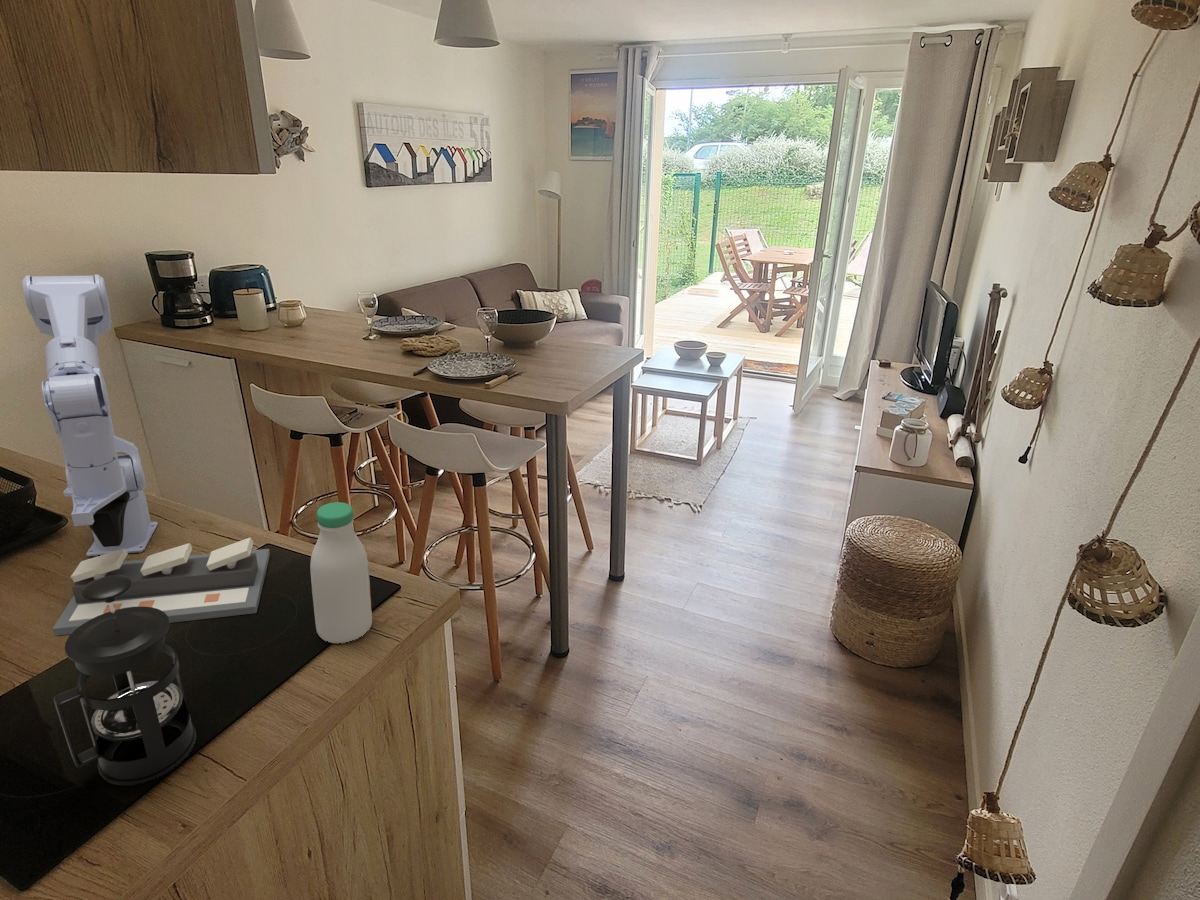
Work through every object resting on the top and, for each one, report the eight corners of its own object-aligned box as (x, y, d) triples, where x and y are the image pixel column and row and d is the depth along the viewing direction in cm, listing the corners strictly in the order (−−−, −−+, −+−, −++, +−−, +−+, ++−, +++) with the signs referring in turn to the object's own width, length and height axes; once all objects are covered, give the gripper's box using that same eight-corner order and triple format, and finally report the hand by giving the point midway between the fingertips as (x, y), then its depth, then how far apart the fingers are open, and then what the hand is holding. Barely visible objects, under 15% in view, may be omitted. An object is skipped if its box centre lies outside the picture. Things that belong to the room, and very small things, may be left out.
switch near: (88, 571, 99) (80, 561, 98) (131, 558, 100) (124, 548, 99) (78, 587, 95) (70, 577, 94) (123, 573, 96) (115, 563, 95)
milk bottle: (374, 639, 96) (366, 519, 88) (316, 649, 93) (303, 526, 85) (370, 607, 102) (363, 493, 94) (316, 616, 99) (303, 498, 91)
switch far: (218, 561, 104) (211, 551, 103) (256, 547, 105) (250, 537, 104) (213, 575, 101) (206, 565, 100) (252, 561, 102) (246, 550, 101)
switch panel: (95, 570, 105) (89, 548, 103) (269, 554, 112) (267, 534, 111) (54, 635, 91) (47, 612, 89) (256, 613, 99) (253, 590, 97)
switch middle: (154, 566, 101) (147, 555, 100) (195, 553, 102) (189, 543, 101) (146, 581, 98) (140, 570, 97) (189, 567, 99) (183, 557, 98)
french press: (186, 703, 82) (151, 546, 73) (215, 748, 77) (182, 584, 67) (69, 757, 74) (14, 587, 65) (92, 812, 69) (36, 635, 59)
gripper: (77, 439, 96) (97, 521, 101) (33, 485, 83) (59, 575, 89) (134, 437, 98) (151, 517, 103) (100, 481, 85) (121, 569, 91)
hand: (112, 544), depth 96 cm, fingers closed
